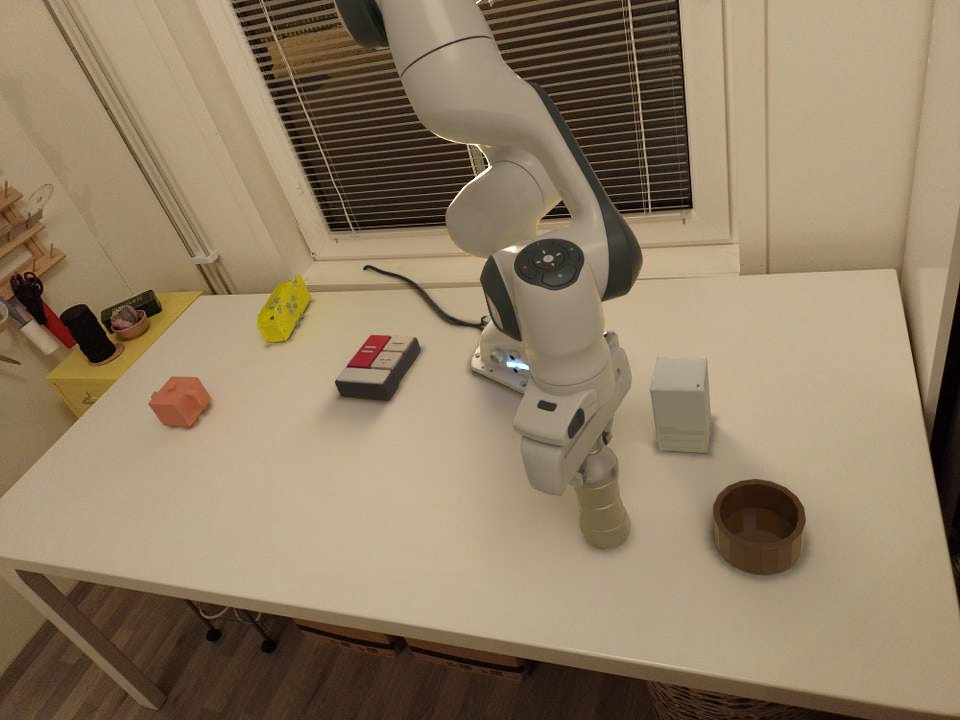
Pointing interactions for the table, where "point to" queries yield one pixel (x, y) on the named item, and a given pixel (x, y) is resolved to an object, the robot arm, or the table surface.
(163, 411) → the pink studded cube
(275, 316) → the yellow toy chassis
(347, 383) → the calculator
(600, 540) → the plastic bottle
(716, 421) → the table surface
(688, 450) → the white packaging box
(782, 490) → the cup
